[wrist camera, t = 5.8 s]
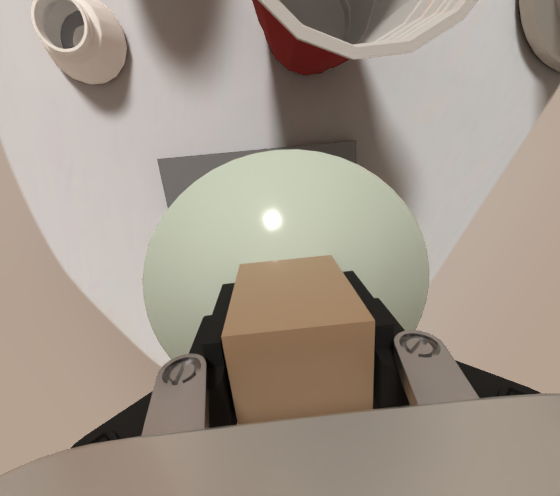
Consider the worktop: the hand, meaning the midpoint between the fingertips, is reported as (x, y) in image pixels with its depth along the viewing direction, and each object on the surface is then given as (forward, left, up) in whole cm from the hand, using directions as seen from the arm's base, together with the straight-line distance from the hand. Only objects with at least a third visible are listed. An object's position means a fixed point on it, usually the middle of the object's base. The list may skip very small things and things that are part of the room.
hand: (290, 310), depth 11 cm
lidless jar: (+11, -15, -12) cm, 22 cm away
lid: (0, 0, -2) cm, 2 cm away
